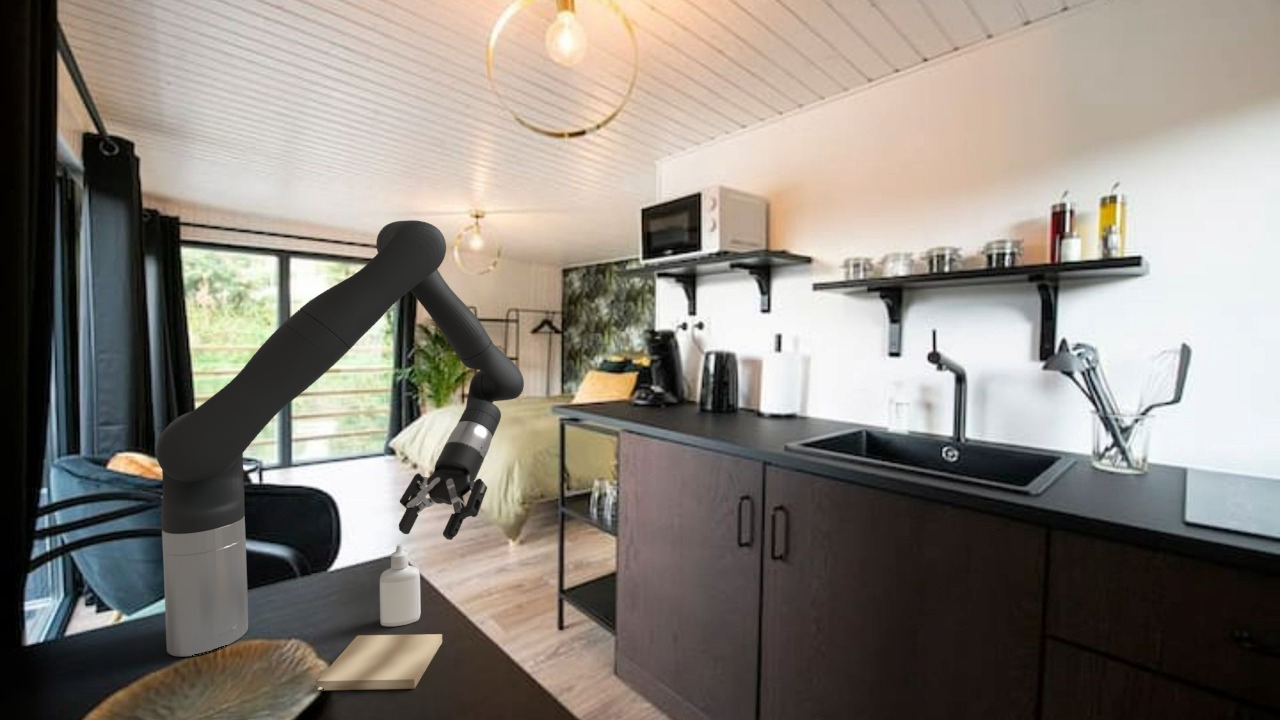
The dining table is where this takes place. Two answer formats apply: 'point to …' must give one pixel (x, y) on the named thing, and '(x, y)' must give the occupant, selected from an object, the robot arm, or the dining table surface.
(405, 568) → the eye dropper bottle
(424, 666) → the oak board
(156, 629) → the dining table surface
